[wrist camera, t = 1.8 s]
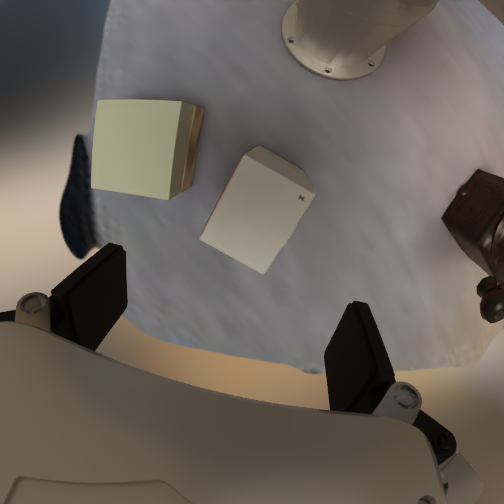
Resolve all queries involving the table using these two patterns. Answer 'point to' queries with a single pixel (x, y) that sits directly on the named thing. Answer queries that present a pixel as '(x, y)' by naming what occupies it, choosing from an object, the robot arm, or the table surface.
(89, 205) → the table surface
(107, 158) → the tower top block
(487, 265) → the manual coffee grinder
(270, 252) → the small box
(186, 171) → the tower base block
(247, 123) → the table surface
